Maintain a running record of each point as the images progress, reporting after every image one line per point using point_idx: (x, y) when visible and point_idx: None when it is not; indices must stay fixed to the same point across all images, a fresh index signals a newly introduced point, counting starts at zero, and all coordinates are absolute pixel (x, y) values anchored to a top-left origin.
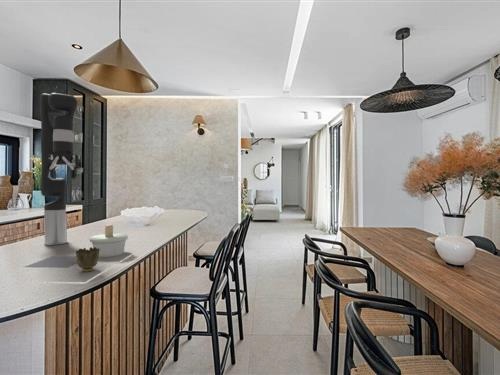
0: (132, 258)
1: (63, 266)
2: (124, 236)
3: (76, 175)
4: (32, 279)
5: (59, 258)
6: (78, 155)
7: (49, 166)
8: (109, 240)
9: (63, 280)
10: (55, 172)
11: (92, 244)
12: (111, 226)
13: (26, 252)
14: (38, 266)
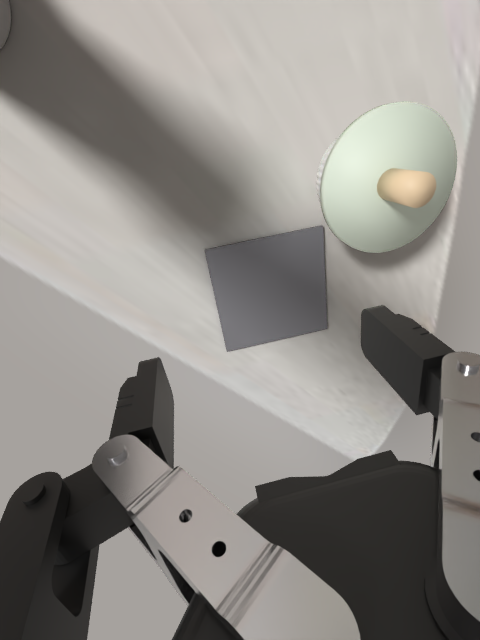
0: None
1: (312, 325)
2: (447, 164)
3: (418, 328)
4: (304, 389)
5: (248, 271)
6: None
7: (105, 536)
8: (413, 238)
9: (361, 378)
10: (157, 411)
11: None
12: (430, 194)
13: (45, 215)
14: (256, 340)
